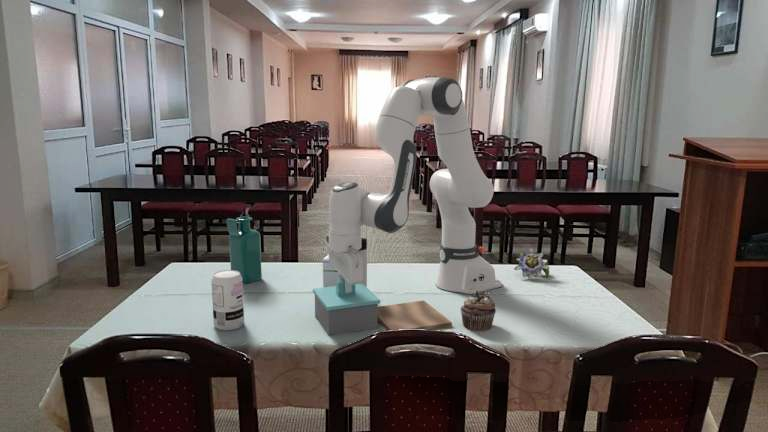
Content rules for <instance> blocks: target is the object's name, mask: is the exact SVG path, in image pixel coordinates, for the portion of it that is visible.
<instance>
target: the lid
mask: <svg viewBox="0 0 768 432" xmlns="http://www.w3.org/2000/svg"><path fill="white" fill-rule="evenodd" d="M344 285H345V279H344V280H336V286H332V287H324V288H323V287H317V288H312V293H313V294H314V297H315V296H316V297H317V298H318V299H319V301H320V302H321V303H322V304H323V306H324V307H325V308H326V310H327V311H329V310H336V309H343V308H351V307H358V306H365V305H373V304H378V305H379V304H381V299H380V298H379V297H378V296H377V295H376V294H374V293H373V292H372V290H370V289H369V288H368V286H367V287H366V286H365V285H364V284H363V283H361V284H353V285H352V291H351V292H349V293H346V292H345V291H344Z"/></svg>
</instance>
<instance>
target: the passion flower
mask: <svg viewBox="0 0 768 432" xmlns="http://www.w3.org/2000/svg"><path fill="white" fill-rule="evenodd" d="M543 256H544V253H543V252H540V253H535V250H533V248H531V247H530V248H529V249H528V251H526V252H523V253H522V252H519V253H516V257H517V258H515V261H517V262H518V264H517V265H516V266H515V267H514V271H521V272H522V276H523V277H522V278H525V277H527V278H528V280H529V281H531V280H533V279H534V275H536V276H537V277H539V278H541V277H542V271H543V272H544V273H545V275H546V277H547V278H548V277H549V275H550V265H548V260H547V259H543Z"/></svg>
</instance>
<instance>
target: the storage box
mask: <svg viewBox="0 0 768 432" xmlns="http://www.w3.org/2000/svg"><path fill="white" fill-rule="evenodd" d="M378 305H379V304H373V305H365V306H358V307H351V308H343V309H336V310H329V311H327V310H326V308H325V307H324V306H323V304H322V303H321V302H320V301H319V299H318V298H317V297H316V296H315V295H314V317H315V319H316V320H317V322H318V323H319V324H320V325H321V327H322V328H323V330H324V331H325V332H326V333H327V335H328V336H333V335H340V334H348V333H353V332H360V331H366V329H368V330H373V329H372V328H375V329H378V320H377V315H378V307H379V306H378Z"/></svg>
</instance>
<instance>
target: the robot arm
mask: <svg viewBox="0 0 768 432" xmlns="http://www.w3.org/2000/svg"><path fill="white" fill-rule="evenodd" d="M420 116H431V117H432V118H433V127H434V130H433V131H434V135H435V142H436V148H437V154H438V157H439V159H440V160H441V162H442V163H443V164H444V165H445V166H446V168H443V169H438V170H436V171H435V172H434V173H433V174H432V175H431V177H430V180H429V189H430V192H431V193H432V194H433V196H434V198H435V200H436V202H437V205H438V209H439V214H440V218H441V243H440V245H439V246H440V247H439V260H440V261H439V267H438V268H439V269H438V273H437V278H436V280H435V286H436V287H437V288H439V289H442V290H445V291H447V292H456V293H461V294H462V293H463V294H466V295H467V294H468V295H470V294H471V295H472V294H473V293H475V292H476V291H478V292H479V293H480V292H481V293H482V292H486V291H489V290H493V289H494V290H495V289H497V288H501V287H502V286H503V285H502V284H503V283H502V281H501V280H500V279H499V278H498V277H496V272H495V268H494V266H493V265H492V264H491V263H490V262H489V261H487V260H486V259H484V258H483V257H482V256H481V255H480V254H484V253H485V252H486V248H485V247H483V246H481V245H480V246H479V245H477V244H476V229H477V227H476V225H477V224H476V221H475V219H474V217H473V216H472V214H471V212H470V210H469V208H471V209H472V208H473V209H474V208H477V209H478V208H485V207H486V206H487V205H488V204H489V203H491V201H492V198H493V196H494V191H495V190H494V185H493V182H492V181H491V179H489V178H488V177H487V176H486V174H485V173H484V171H483V169H482V167H481V166H480V163H479V162H478V159H477V157H476V154H475V152H474V148H473V147H474V146H473V141H472V135H471V134H472V133H471V127H470V121H469V116H468V112H467V109H466V105H465V102H464V99H463V90H462V87H461V86H460V84H459V83H458V81H457V80H456V79H454V78H451V77H447V76H442V77H437V76H436V77H435V76H430V77H423V78H418V79H409V80H407V81H405V82H403V83H401V84H400V85H399V86H396V87H394V88H393V89H392V90H391V91H390V93H389V95H388V96H387V97H386V100H385V102H384V105H383V106H382V109H381V111H380V114H379V116H378V120H377V123H376V125H375V128H374V138H375V141H376V142H375V143H377V145H378V147H379V148H380V149H381V150H382V151H384V152H385V153H386V154H387V155H389V156H390V157H391V158H392V160H393V164H394V165H393V166H394V167H393V173H392V177H391V183H390V188H389V191H388V192H387V193H386V194H385V193H384V194H383V193H378V192H375V191H370V190H368V189H365V188H363V187H361V186H360V185H359V184H358V183H357V182H354V181H347V182H344V181H343V182H340V183H337V184H335V185H334V186H333V187H332V188H331V190H330V194H329V199H328V218H329V221H330V227H329V229H328V234H326V235H325V242H326V243H327V251H328V252H327V253H328V254H327V255H329V262H330V264H331V266H332V267H334V268H335V269H336V270H337V271H338V276H339V280H344V279H345V285H344V291H345V292H346V293H349V292H351V291H352V285H353V284H361V283H362V282H363V263H362V258H361V256H360V255H359V254H358V252H357V250H359V249H361V238H362V226H366V227H370V228H374V229H377V230H380V231H382V232H386V233H388V234H394V233H396V232H399V231H400V230H401V229H402V228H403V227H404V226H405V225H406V223H407V222H408V219H409V213H410V212H409V210H410V197H411V191H412V187H413V185H412V184H413V180H414V174H415V171H416V170H415V169H416V163H417V152H418V151H417V146H416V145H415V143H414V136H415V131H416V129H417V126H418V121H419V117H420Z"/></svg>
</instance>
